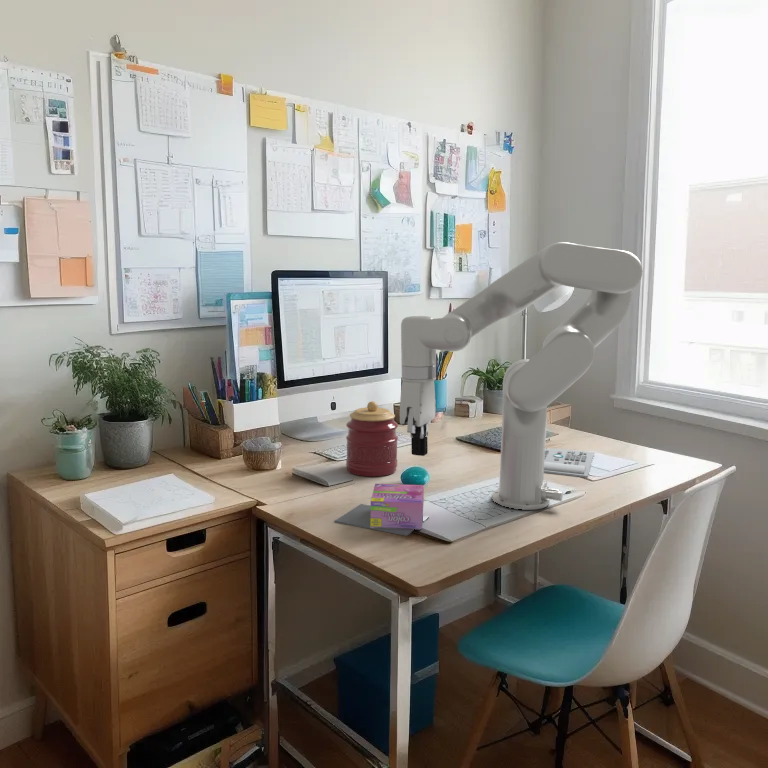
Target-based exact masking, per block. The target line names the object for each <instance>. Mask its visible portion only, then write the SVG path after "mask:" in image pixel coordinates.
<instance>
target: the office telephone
mask: <svg viewBox="0 0 768 768" xmlns="http://www.w3.org/2000/svg"><path fill="white" fill-rule="evenodd" d="M594 454H596V453H595V451H586V450H575V449H568V448H567V449H566V448H556V447H555V448H548V447H547V448H546V447H545V462H544V474H552V475H560V476H568V477H569V476H570V477H577V478H578V477H579V478H586V479H587V478H589V475H590V470H591V467H592V464H591V463H593V460H594V458H595V455H594ZM593 457H594V458H593ZM592 459H593V460H592ZM588 474H589V475H588Z"/></svg>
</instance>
